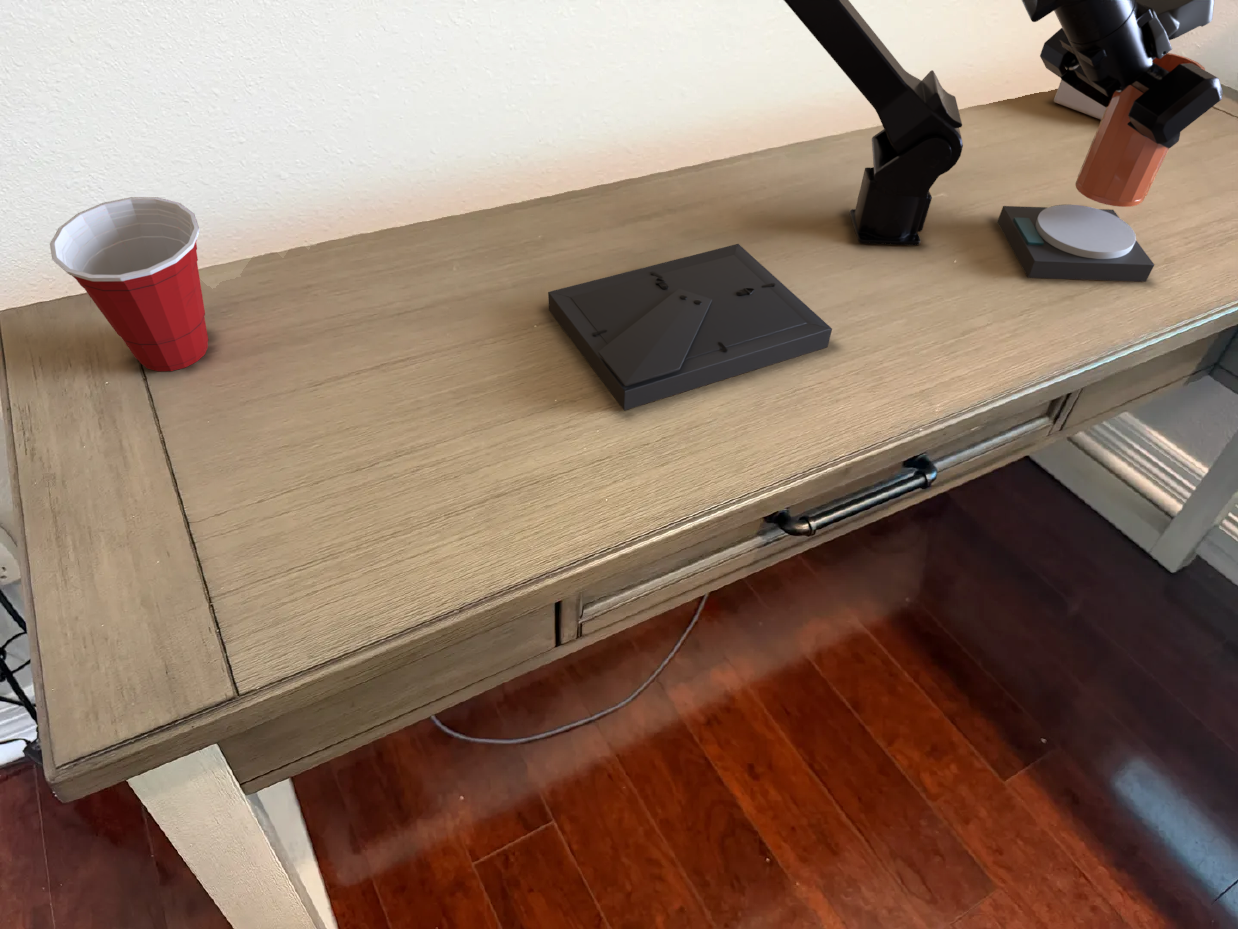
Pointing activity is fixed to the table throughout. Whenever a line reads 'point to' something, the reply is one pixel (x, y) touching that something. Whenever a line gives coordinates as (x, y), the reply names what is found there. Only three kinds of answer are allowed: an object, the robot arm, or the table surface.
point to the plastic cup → (140, 275)
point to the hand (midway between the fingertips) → (1149, 128)
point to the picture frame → (685, 324)
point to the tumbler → (1123, 151)
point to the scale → (1074, 243)
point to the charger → (1078, 101)
